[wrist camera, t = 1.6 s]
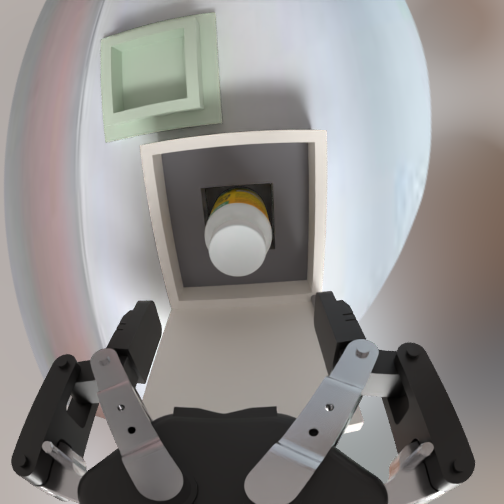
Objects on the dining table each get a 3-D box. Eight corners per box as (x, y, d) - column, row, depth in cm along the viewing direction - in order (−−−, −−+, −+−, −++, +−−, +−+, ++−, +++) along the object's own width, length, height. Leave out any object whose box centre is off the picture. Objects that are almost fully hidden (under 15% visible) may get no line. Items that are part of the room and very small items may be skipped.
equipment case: (157, 141, 24) (17, 182, 7) (312, 129, 24) (438, 144, 7) (182, 291, 32) (140, 437, 14) (310, 284, 32) (359, 429, 14)
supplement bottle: (250, 244, 29) (252, 296, 21) (204, 222, 28) (186, 267, 19) (275, 200, 27) (290, 237, 19) (227, 176, 26) (218, 201, 17)
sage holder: (104, 41, 19) (89, 34, 16) (215, 15, 19) (211, 2, 16) (109, 142, 24) (93, 145, 21) (222, 123, 24) (219, 122, 21)
